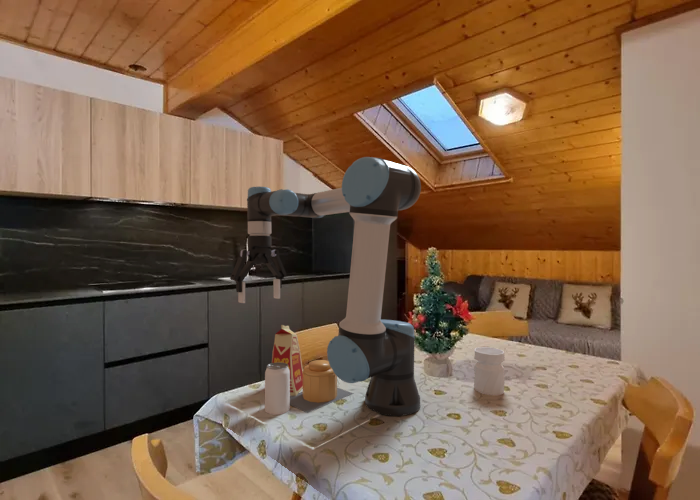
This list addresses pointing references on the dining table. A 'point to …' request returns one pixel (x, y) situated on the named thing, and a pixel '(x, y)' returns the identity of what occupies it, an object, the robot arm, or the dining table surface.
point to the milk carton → (289, 357)
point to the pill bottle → (489, 371)
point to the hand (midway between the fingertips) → (260, 300)
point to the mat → (310, 406)
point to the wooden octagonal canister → (319, 382)
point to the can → (277, 388)
